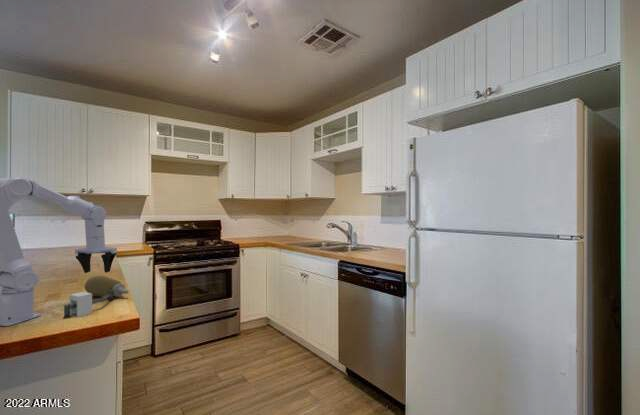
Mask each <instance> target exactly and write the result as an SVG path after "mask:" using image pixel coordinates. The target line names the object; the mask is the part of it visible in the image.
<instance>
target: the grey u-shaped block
mask: <svg viewBox="0 0 640 415" xmlns="http://www.w3.org/2000/svg"><path fill="white" fill-rule="evenodd" d="M92 300H93V295H92V294H91V293H88V292H87V291H80V292H76V293H71V294H69V304H70V305H74V304H77V308H73V309H70V315H71V316H72V315H76V318H80V317H84V316H87V315H92V314H91V313H93V304H92Z"/></svg>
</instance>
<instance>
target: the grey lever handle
mask: <svg viewBox="0 0 640 415" xmlns="http://www.w3.org/2000/svg"><path fill="white" fill-rule="evenodd" d="M106 299H107V302H114V297H113V289H111V290H109V292H108V293H107V294H105V295H104V296H103V297H99V298H96V299H92V305H93V304H98V303H103V302H104V301H105V300H106ZM73 308H77V304H74V305H70V304H67V303H66V304H64V305H63V316H62V318H63V319H70V318H71V316H72V315H70V309H73Z"/></svg>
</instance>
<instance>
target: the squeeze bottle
mask: <svg viewBox="0 0 640 415" xmlns="http://www.w3.org/2000/svg"><path fill="white" fill-rule="evenodd" d="M111 289H113V298H116V297H121V296H122V295H123V294H124V295H126V294H128V293H130V291H129V290H128V289H126V288H125V285H124V284H122V283H121V281H119V280H118V279H114V278H110V277H108V276H106V275H96V276H91V277H90V278H88V279H87V280H86V281H85V283H84V290H85V292H87V293H91V294H92V297H99V298H101V297H103V296H104V295H105V294H107V293H108V292H109V290H111Z"/></svg>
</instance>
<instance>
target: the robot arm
mask: <svg viewBox="0 0 640 415" xmlns="http://www.w3.org/2000/svg"><path fill="white" fill-rule="evenodd" d="M28 196H30V197H31V196H33V197H34V196H35V197H37V198H40V199H43V200H45V201H49V202H52V203H54V204H57V205H60V207H61V209H62V210H63V211H66V212H68V213H71V214H73V215H76V216H78V217H80V218H81V219H82V220H83V221H84V227H85V228H84V229H85V244H86V247H82V248H81V247H80V248H79V247H78V248H75V249H74V255H75V258H76V260H77V261H78V262H79V264H80V265H81V268H82V270H83V273H84V274H88V273H90V272H91V258H92V255H93V254H100V257H101V259H102V263H103V271H104V273H110V272H111V268H112V264H113V261H114V259H115V257H116V256H117V253H118V248H117V247H111V246H110V247H109V246H106V241H105V240H106V238H105V219H106V217H107V215H108V212H107V211H106V210H105V208H104V207H103V206H101V205H94V203H93V202H92V201H86V200H84V199H82V198H81V196H79V195H69V196H65V195H63V194H61V193H59V192H58V191H55V190H53V189H51V188H49V187H46V186H45V185H42V184H40V183H38V182H36V181H35V180H34V181H33V180H30V179H27V178H25V177H22V176H13V177H0V287H1V292H0V327H9V326H12V325H13V326H14V325H17V324H20V323H23V322H24V321H28V320H31V319H34V318H37V317H40V316H42V314H41V313H34V308H35V307H34V305H35V301H34V300H35V299H34V298H35V297H34V296H35V287H36V286H37V285H38V283H39V279H40V278H39V274H38V273H37V272H36V271H35V270H33V268H32V265H31V264H30V263H29V262H28V261H27V260H26V259H25V256H24V254H23V251H22V247H21V244H20V242H19V239H18V236H17V233H16V229H15V228H14V223H13V221H12V218H11V216H10V212H9V210H10V209H11V208H12V206H14V205H15V203H16V202H18V201H20V200H22V199H24V198H26V197H28Z"/></svg>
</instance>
